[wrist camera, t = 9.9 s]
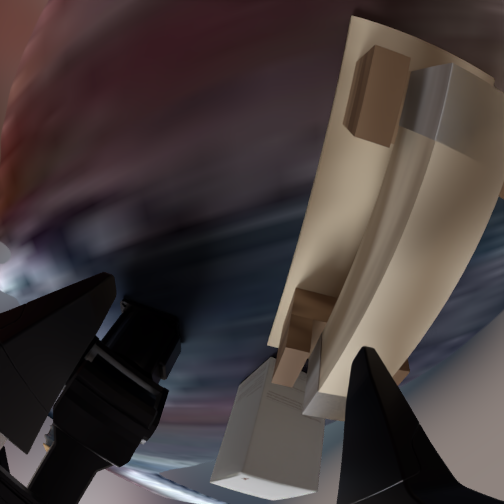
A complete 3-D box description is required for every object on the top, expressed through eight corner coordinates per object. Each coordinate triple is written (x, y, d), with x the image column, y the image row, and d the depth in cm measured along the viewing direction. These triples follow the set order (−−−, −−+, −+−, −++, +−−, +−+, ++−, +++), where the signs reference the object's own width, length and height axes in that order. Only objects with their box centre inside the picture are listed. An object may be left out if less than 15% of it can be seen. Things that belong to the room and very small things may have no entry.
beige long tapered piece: (269, 337, 26) (253, 400, 20) (350, 19, 13) (366, -21, 7) (369, 359, 25) (372, 421, 19) (487, 78, 12) (550, 82, 6)
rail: (308, 358, 21) (302, 414, 17) (411, 71, 11) (452, 62, 6) (352, 367, 21) (352, 422, 17) (470, 99, 10) (524, 108, 6)
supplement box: (237, 384, 31) (205, 482, 21) (271, 353, 28) (241, 473, 17) (290, 408, 32) (272, 502, 21) (330, 382, 28) (319, 493, 17)
